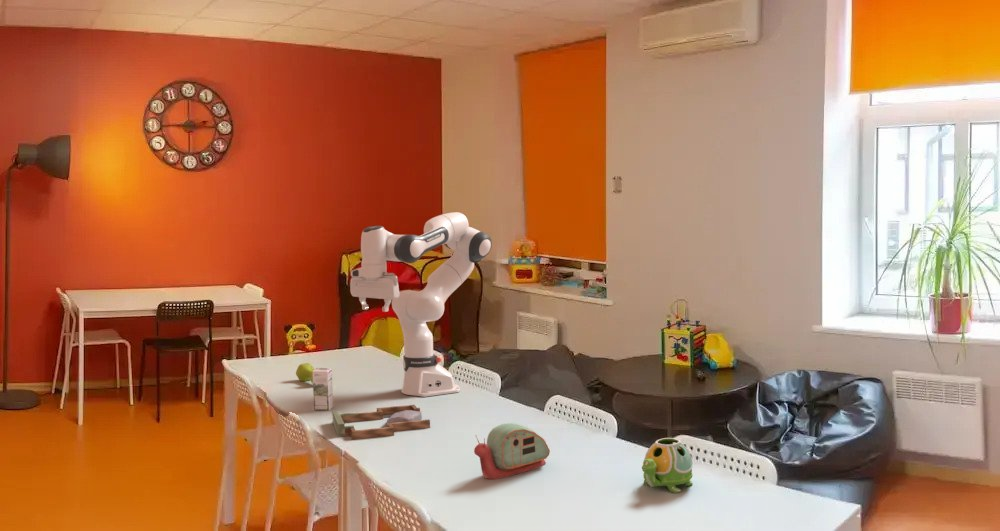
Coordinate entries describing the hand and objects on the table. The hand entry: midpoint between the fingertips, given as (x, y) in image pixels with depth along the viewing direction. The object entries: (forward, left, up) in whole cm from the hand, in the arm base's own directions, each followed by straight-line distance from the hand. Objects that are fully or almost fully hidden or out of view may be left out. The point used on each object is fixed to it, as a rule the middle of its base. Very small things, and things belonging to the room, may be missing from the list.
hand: (375, 310), depth 321 cm
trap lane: (+3, +23, -35) cm, 42 cm away
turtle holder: (-59, +108, -36) cm, 128 cm away
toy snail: (-24, +83, -36) cm, 93 cm away
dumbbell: (+19, -49, -36) cm, 64 cm away
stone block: (-5, +23, -36) cm, 43 cm away
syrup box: (+19, -6, -36) cm, 41 cm away
